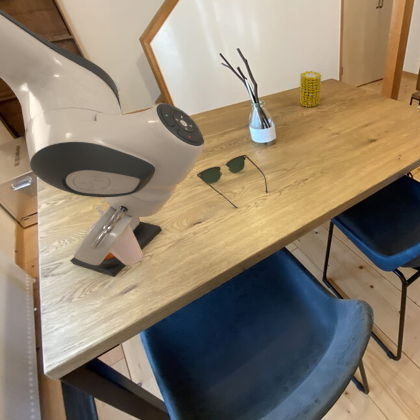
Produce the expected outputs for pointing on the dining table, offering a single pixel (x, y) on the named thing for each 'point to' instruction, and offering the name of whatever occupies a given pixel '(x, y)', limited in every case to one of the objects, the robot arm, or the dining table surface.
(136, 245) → the smoothie
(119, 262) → the scale
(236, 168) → the sunglasses
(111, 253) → the tare button
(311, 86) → the food
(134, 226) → the scale pan
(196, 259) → the dining table surface
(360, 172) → the dining table surface
